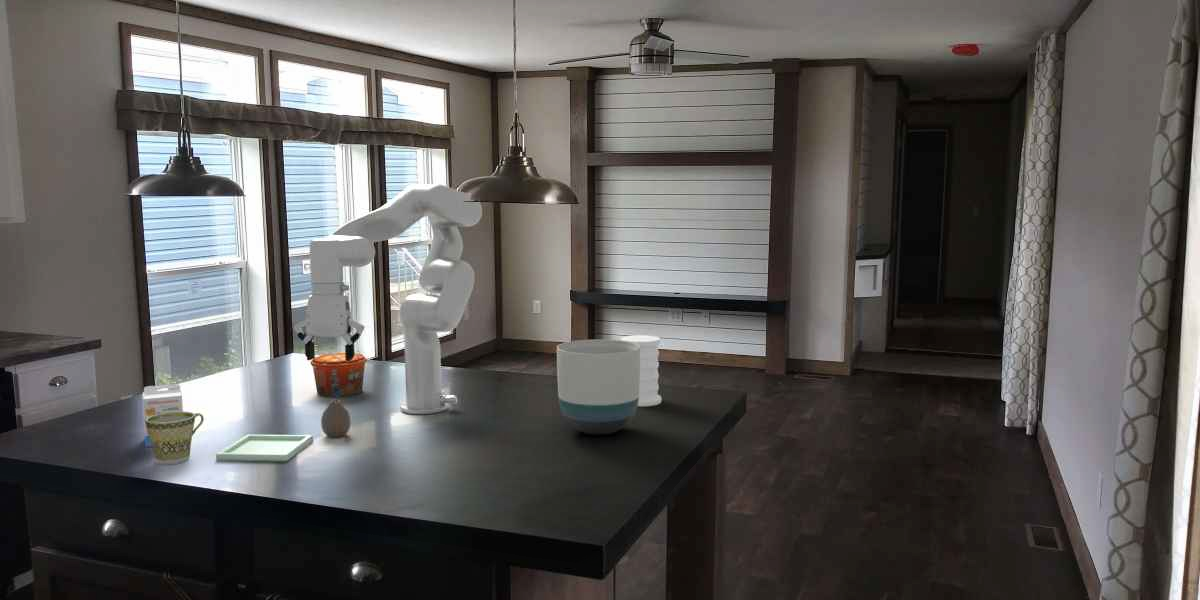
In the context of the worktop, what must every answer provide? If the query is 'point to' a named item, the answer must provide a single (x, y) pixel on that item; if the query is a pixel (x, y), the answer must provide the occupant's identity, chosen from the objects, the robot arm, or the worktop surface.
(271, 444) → the tray
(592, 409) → the planter
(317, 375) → the food container
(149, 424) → the ceramic cup
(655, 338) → the decorative container
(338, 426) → the vase
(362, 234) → the robot arm
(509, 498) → the worktop surface
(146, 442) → the ink box
